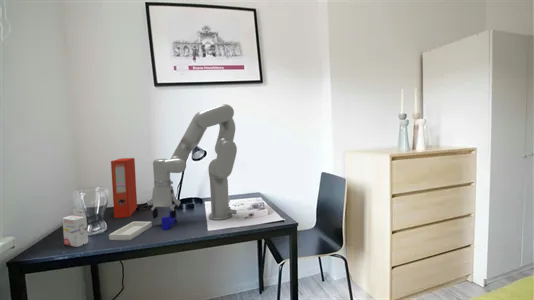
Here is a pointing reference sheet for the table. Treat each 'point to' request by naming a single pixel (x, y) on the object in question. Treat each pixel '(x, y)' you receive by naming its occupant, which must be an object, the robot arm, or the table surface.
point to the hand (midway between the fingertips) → (164, 217)
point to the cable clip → (168, 222)
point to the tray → (130, 231)
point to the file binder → (124, 187)
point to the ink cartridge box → (75, 228)
